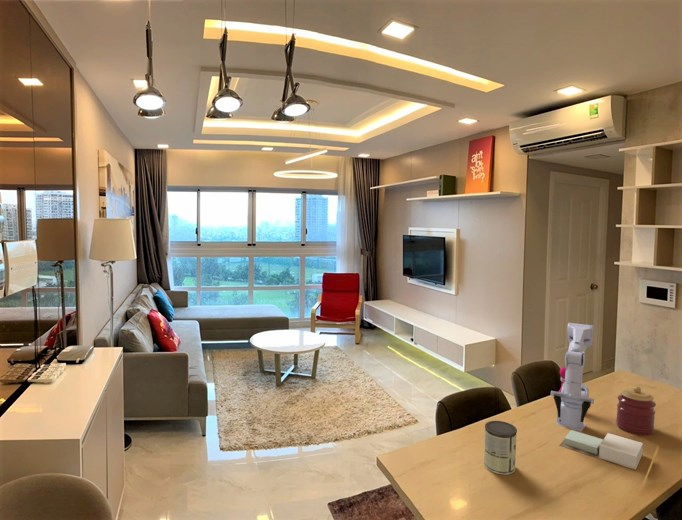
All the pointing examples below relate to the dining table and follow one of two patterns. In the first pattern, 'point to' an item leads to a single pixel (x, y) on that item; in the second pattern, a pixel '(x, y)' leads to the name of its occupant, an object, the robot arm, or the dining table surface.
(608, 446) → the white rounded block
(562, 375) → the pepper mill
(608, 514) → the dining table surface
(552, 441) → the dining table surface
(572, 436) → the sage tile
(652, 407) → the canister
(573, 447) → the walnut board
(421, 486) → the dining table surface
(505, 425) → the coffee can
